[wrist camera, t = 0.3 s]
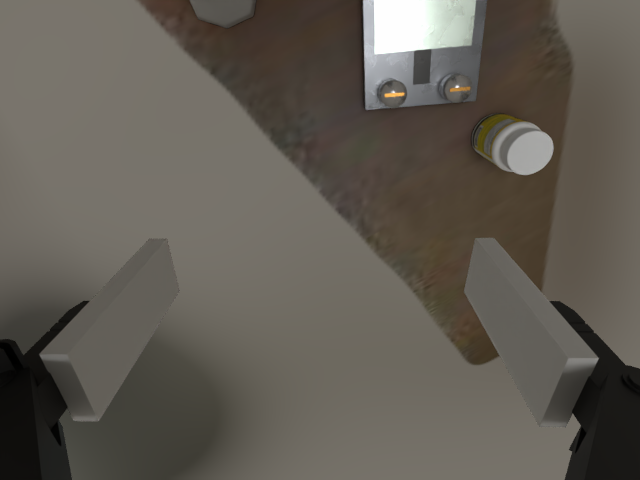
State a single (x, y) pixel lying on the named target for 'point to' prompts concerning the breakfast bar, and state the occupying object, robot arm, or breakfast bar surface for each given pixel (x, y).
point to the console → (421, 51)
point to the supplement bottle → (512, 144)
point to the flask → (224, 11)
